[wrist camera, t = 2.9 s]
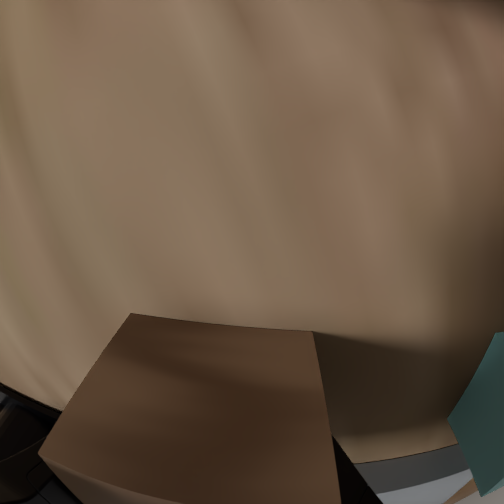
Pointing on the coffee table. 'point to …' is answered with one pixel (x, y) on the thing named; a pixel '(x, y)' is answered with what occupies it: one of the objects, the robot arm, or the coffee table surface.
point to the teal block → (483, 420)
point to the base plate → (418, 477)
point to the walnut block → (198, 419)
